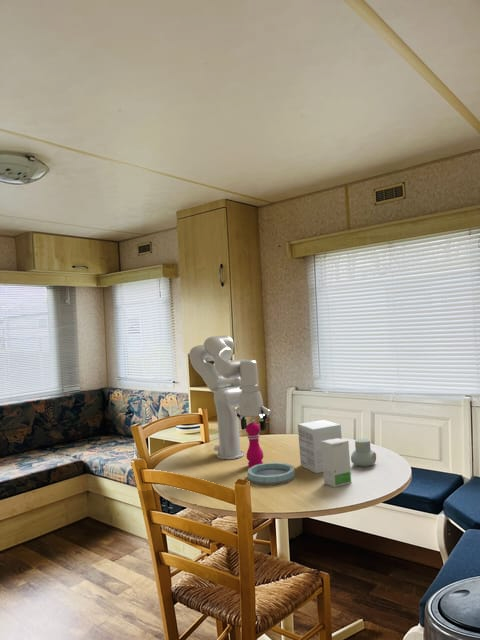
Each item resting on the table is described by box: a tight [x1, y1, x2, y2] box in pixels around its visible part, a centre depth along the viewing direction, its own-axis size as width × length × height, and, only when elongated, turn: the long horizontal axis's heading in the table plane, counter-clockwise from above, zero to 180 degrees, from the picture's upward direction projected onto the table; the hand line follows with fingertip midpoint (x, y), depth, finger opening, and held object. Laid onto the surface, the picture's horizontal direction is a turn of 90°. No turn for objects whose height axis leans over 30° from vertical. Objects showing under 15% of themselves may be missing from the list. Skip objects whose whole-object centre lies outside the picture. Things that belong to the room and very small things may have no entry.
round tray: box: [247, 461, 296, 486], centre depth 188 cm, size 18×18×3 cm
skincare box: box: [321, 438, 352, 488], centre depth 176 cm, size 8×7×16 cm
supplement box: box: [297, 419, 343, 474], centre depth 197 cm, size 13×13×18 cm
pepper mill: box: [245, 418, 265, 469], centre depth 204 cm, size 7×7×20 cm
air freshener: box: [350, 438, 377, 468], centre depth 195 cm, size 11×8×10 cm
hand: (253, 429), depth 204 cm, fingers open, 9 cm apart
